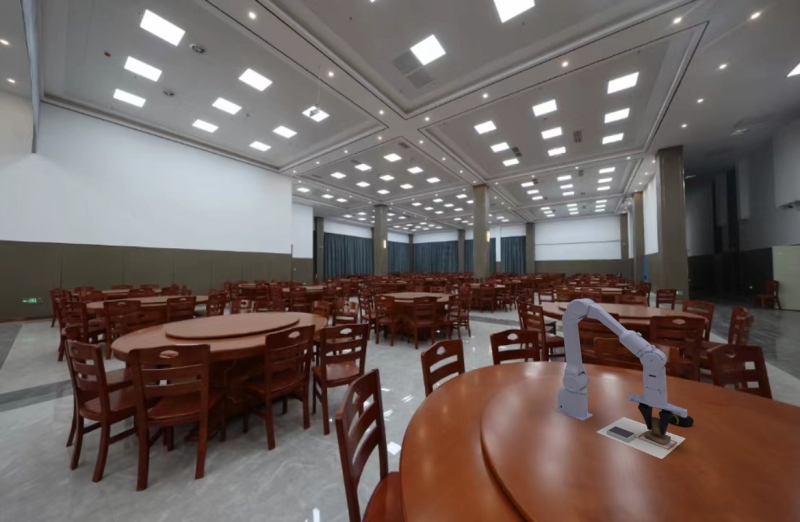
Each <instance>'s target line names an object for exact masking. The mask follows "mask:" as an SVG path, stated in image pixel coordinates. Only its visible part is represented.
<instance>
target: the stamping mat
mask: <svg viewBox="0 0 800 522" xmlns="http://www.w3.org/2000/svg"><path fill="white" fill-rule="evenodd" d="M647 431H649V430H648V429H647V426H646V423H642V422H640V421H636V420H634V419H631V418H627V417H625V416H623V417H621V418H619V419H617V420H616V421H614V422H611V423H610V424H608V425H606V426H605V427H603V428H601V429H599V430H597V431H596V434H598V435H602V436H605V437H607V438H609V439H612V440H614V441H616V442H619V443H621V444H624V445H626V446H629V447H631V448H634V449H636V450H639V451H641V452H644V453H646V454H648V455H650V456H653V457H655V458H658V459H660V460H662V459H664V458H665V457H667V455H668V454H670V453H671V452H672V451H674V450H675V449H676V448H677V447H678V446H679V445H681V443H683V442H684V441H685V440H686V439H687V438H685V437H683V436H681V435H680V436H679V435H677V434H675V433H671V432H668V431H666V434H665V435H668V436H671V441H670V442H668V443H667V444H665V445H661V444H659V443H656V442H654V441H651V440H649V439H646V438H645V437H644V433H645V432H647Z"/></svg>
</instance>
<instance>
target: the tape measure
mask: <svg viewBox="0 0 800 522" xmlns="http://www.w3.org/2000/svg"><path fill="white" fill-rule="evenodd" d="M694 421H695V420H694V418H693V417H691V416H690V415H688V414H687V417H686V418H684V417H681V416H680V415H677V414H674V415H673V416H672V418H671V420H670V422H669V423H671V424H673V425H675V426H681V427H689V426H691V425H693V424H694Z"/></svg>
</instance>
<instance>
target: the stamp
mask: <svg viewBox="0 0 800 522" xmlns="http://www.w3.org/2000/svg"><path fill="white" fill-rule="evenodd" d="M644 437H645V438H646V439H649V440H651V441H654V442H656V443H659V444H661V445H665V444H667V443H668V442H670V441H671V436H668V435H662V434H661V423H660V417H656V416H652V417H651V430H649V431H647V432H645V433H644Z"/></svg>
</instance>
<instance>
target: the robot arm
mask: <svg viewBox="0 0 800 522" xmlns="http://www.w3.org/2000/svg"><path fill="white" fill-rule="evenodd" d="M585 317H586V318H589V319H594V320H597V321H600V323H602V324H603V325H604V326H605V327H607V328H609V330H610V331H612V332H613V334H616V335H617V336H618V341H619V342H620V343H621V344H622V345H623V346H624V347H625V348H626V349H628V350H629V352H631V353H632V354H633V355H635V356H636V357H637V358H639V361H640V363H641V365H642V369H643V370H642V382H643V383H642V385H643V389H642V390H643V396H641V395H636V394H632V393H628V394H627V396H626V398H627V399H626V400H627V401H628V402H633V403H638V405H637V409H638V410H639V412H640V414H641V415H642V417H643V419H644V424H645V425H646V426H647V429H648V430H651V417H653V408H654V409H658V410H660V411H658V416H659V417H658V418H660V423H661V434H662V435H665V434H666V432H667V429H668V426H669V423H670V420H671V418H672V416H673V415H674V414H677V415H680V416H681V417H684V418H686V417H687V415H688V409H686V408H683V407H680V406H676V405H674V404H672V403H669V402H668V391H667V389H668V388H667V387H668V386H667V374H666V371H667V370H666V366H665V365H666V363H667V362H668V361H667V360H668V358H667V356H666V355H667V354H665V353H664V352H663V350H661V349H659V348H656V346H655V345H654V344H650V343H649V342H648V341H647V340H646V339H644V338H643V337H642V333H640V332H639V331H638V332H636V331H635V330H628V329H626V328H625V327H624V326H623V325H622V324H621V323H620V322H619V321H618V320H616V319H615V318H614V317H613V316H612V315H611V314H610V313H608V311H606V310H605V308H604V307H602V306H601V305H599V304H598V303H597V302H595V301H594V299H593V300H592V299H591V298H588V297H587V298H586V297H584V298H576V299H573V300H571V301H570V302H569V303H568V304H566V309H565V311H564V313H563V314H562V317H561V323H562V325H561V326H562V333H563V341H564V343H563V344H564V351H565V352H564V354H565V362H566V365H565V368H564V370H563V373H564V374H563V377H562V385H561V386H560V387H559V389H558V391H557V409H556V411H557V412H559V413H561V414H564V415H567V416H569V417H571V418H574V419H576V420H579V421H586V420H587V419H589V418H591V417H594V414H592V413H590V412H589V410H588V409H589V408H588V406H589V405H588V404H589V403H588V390H587V386H589V385H590V384H589V383H590V378H589V376H588V375H587V372H586V367H585V366H584V364H583V360H582V359H583V358H582V351H581V350H582V349H581V344H580V343H581V341H580V340H581V339H580V334H579V332H580V331H579V324H578V323H579V322H581V320H583V319H584V318H585Z"/></svg>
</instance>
